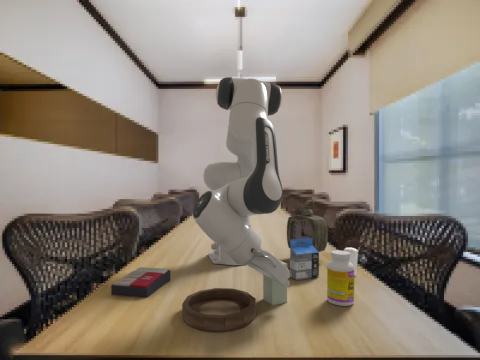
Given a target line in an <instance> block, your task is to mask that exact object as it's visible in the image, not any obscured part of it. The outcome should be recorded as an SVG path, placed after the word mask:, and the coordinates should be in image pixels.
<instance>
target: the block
mask: <svg viewBox="0 0 480 360" xmlns="http://www.w3.org/2000/svg"><path fill="white" fill-rule="evenodd" d="M278 260H279V259H278ZM279 261H280V262H281V263H282V264H283V265H284V266H285V267H286V268H287V269H288V263H286V262H284V261H282V260H279ZM262 279H263V280H262V281H263V282H262V291H263V292H262V297H263V300H264V301H265V302H266V303H268V304H270V305H271V306H276V305H281V304H284V303H285V304H286V303H288V288H285V287H283V286H282V285H281V284H280V283H278V282H276V281H274V280H273V279H271V278H269V277H267V276H265V275H264V274H262Z"/></svg>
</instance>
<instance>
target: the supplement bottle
mask: <svg viewBox="0 0 480 360" xmlns="http://www.w3.org/2000/svg"><path fill="white" fill-rule="evenodd" d="M330 256H331V260H329V261H328V262H327V264H326V265H327V268H326V273H327V274H326V275H327V277H326V280H327V281H326V283H327V284H326V286H327V287H326V289H327V291H326V293H327V295H326V296H327V297H326V298H327V301H328V303H330V304H332V305H335V306H339V307H350V306H352V305H353V304H354V302H355V276H354V266H353V264H352V263H351V262H349V259H350V253H349V252H347V251H344V250H337V249H336V250H332V251H330Z"/></svg>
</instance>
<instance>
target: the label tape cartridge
mask: <svg viewBox="0 0 480 360" xmlns="http://www.w3.org/2000/svg"><path fill="white" fill-rule="evenodd" d="M301 241H302V242H305V244H298V243H300V242H301ZM289 249H290V250H289V252H290V253H289V255H290V256H289V271H290V275H289V278H290V279H291V278H292V279H293V280H295V281H301V280H308V279H315V278H319V276H320V262H319V261H320V252H318V251H317V250H316V249H315V248H314V247H313V245H312V238H306V239H292V240H290V248H289Z"/></svg>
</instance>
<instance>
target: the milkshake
mask: <svg viewBox="0 0 480 360" xmlns="http://www.w3.org/2000/svg"><path fill="white" fill-rule="evenodd" d="M360 248H361V245H360V246H359V247H358V249H356V248H355V247H345V248H344V249H343V251H347V252H349V253H350V259H349V262H351V263H352V264H353V266H354V277H356V276H357V270H358V269H357V267H358V257H359V250H360Z"/></svg>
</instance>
